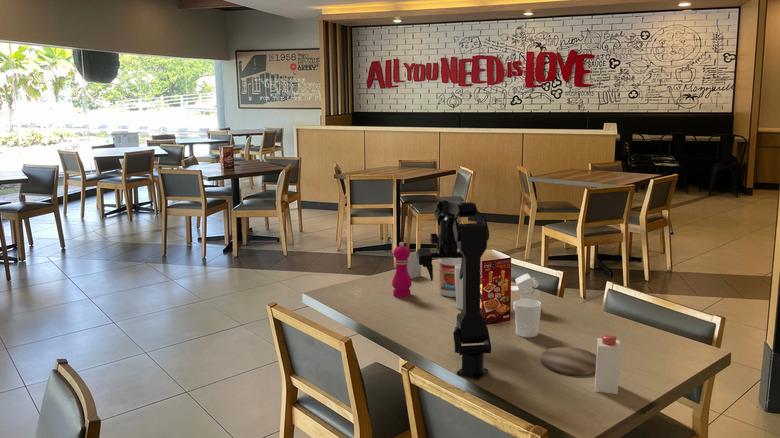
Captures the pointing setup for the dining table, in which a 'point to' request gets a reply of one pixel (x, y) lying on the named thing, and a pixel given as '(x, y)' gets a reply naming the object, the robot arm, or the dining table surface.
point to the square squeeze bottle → (607, 364)
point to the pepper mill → (401, 272)
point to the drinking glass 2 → (458, 287)
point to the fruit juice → (448, 276)
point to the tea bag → (413, 266)
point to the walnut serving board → (569, 361)
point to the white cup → (527, 317)
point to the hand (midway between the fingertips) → (446, 279)
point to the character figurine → (526, 287)
